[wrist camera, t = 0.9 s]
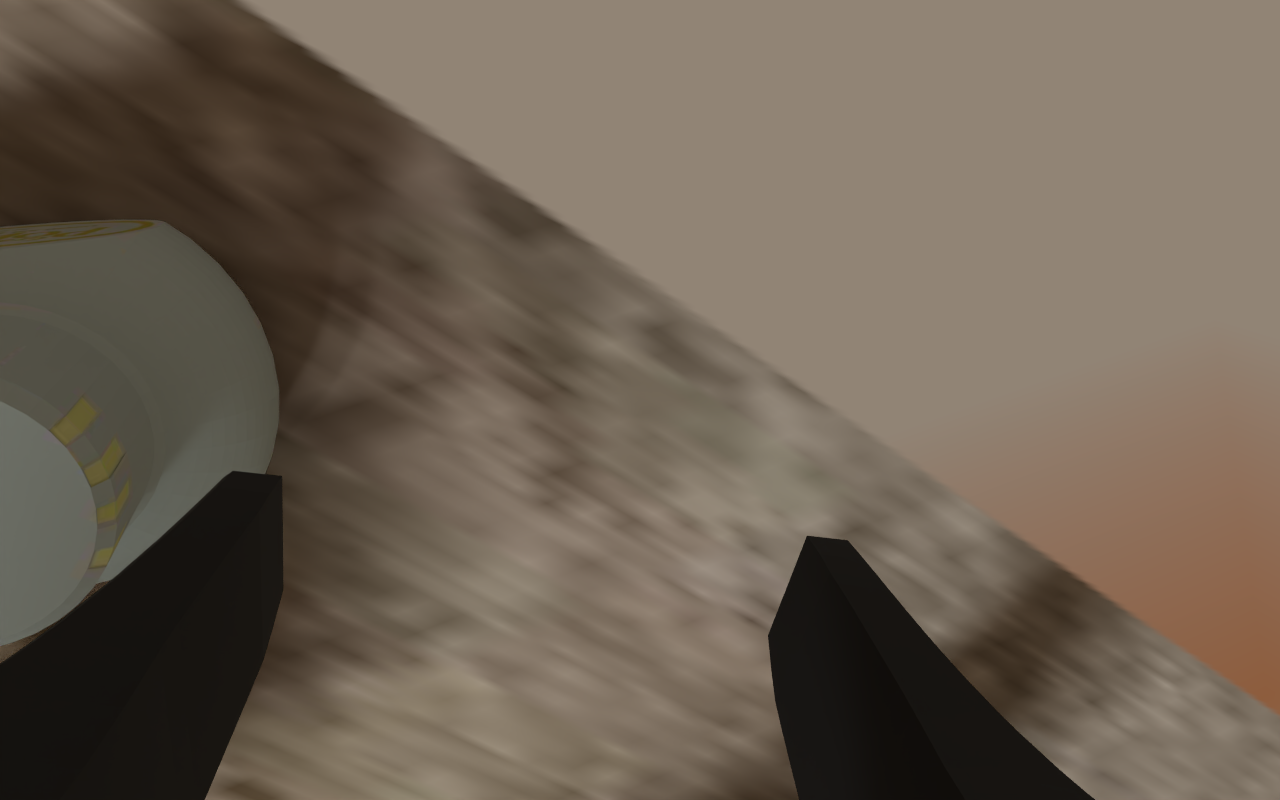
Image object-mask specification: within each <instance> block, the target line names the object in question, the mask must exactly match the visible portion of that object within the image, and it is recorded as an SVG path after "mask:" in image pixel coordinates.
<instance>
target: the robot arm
mask: <svg viewBox="0 0 1280 800" xmlns="http://www.w3.org/2000/svg"><path fill="white" fill-rule="evenodd" d="M282 592H283V519H282V476H276V475H268V474H259V473H250V472H241V471H232V472H230V473H229V474H227V475H226V476H224V477H223V478H222V479H221V480H220V481H219V482H218V483H217V484H216V485H215V486H214V487H213V488H212V489H211V490H210V491H209V492H208V493H207V494H206V495H205V496H204V497H203V498H202V499H201V500H200V501H199V502H198V503H197V504H195V505H194V506H193V507H192V508H191V509H190V510H189V511H188V512H187V513H186V514H185V515H184V516H183V517H182V518H181V519H180V520H179V521H177V522H176V523H175V524H174V525H173V526H172V527H171V528H170V529H169V530H168V531H167V532H166V533H164V534H163V535H162V536H161V537H160V538H159V539H158V540H157V541H156V542H154V543H153V544H152V545H151V546H150V547H149V548H148V549H146V550H145V551H144V552H143V553H142V554H141V555H139V556H138V557H137V558H136V559H135V560H134V561H133V562H131V563H130V564H129V565H128V566H127V567H126V568H125V569H123V570H122V571H121V572H120V573H119V574H118V575H116V576H115V577H114V578H113V579H112V580H110V581H109V582H108V583H107V584H106V585H104V586H103V587H102V588H101V589H99V590H98V591H97V592H96V593H94V594H93V595H92V596H90V597H89V598H88V599H87V600H85V601H84V602H83V603H82V604H80V605H79V606H78V607H77V608H75V609H74V610H73V611H71V612H70V613H69V614H68V615H66V616H65V617H64V618H63V619H61V620H60V621H59V622H57V623H56V624H55V625H54V626H52V627H51V628H50V629H48V630H47V631H46V632H44V633H43V634H41V635H40V636H39V637H37V638H36V639H35V640H33V641H32V642H30V643H29V644H28V645H26V646H25V647H24V648H22V649H21V650H19V651H18V652H16V653H15V654H14V655H12V656H11V657H9V658H8V659H6V660H5V661H3V662H2V663H1V664H0V800H205V798H206V795H207V793H208V791H209V788H210V786H211V783H212V781H213V779H214V776H215V774H216V772H217V769H218V767H219V765H220V762H221V760H222V757H223V755H224V753H225V750H226V748H227V746H228V743H229V741H230V739H231V736H232V734H233V731H234V729H235V727H236V724H237V722H238V720H239V717H240V715H241V713H242V710H243V708H244V705H245V703H246V701H247V698H248V696H249V693H250V691H251V689H252V686H253V684H254V681H255V679H256V677H257V674H258V672H259V669H260V667H261V664H262V662H263V659H264V656H265V652H266V649H267V646H268V642H269V639H270V635H271V632H272V629H273V625H274V621H275V618H276V614H277V610H278V607H279V603H280V600H281V596H282ZM768 639H769V650H770V660H771V670H772V678H773V686H774V694H775V702H776V706H777V711H778V715H779V719H780V724H781V728H782V732H783V736H784V740H785V744H786V748H787V752H788V757H789V761H790V765H791V769H792V773H793V776H794V780H795V784H796V788H797V792H798V796H799V800H1095V799H1094V798H1092V797H1091V796H1090V795H1089V794H1087V793H1086V792H1085V791H1084V790H1083V789H1081V788H1080V787H1079V786H1078V785H1077V784H1076V783H1074V782H1073V781H1072V780H1071V779H1070V778H1068V777H1067V776H1066V775H1065V774H1064V773H1063V772H1062V771H1060V770H1059V769H1058V768H1057V767H1056V766H1055V765H1054V764H1053V763H1052V762H1050V761H1049V760H1048V759H1047V758H1046V757H1045V756H1044V755H1043V754H1042V753H1041V752H1040V751H1038V750H1037V749H1036V748H1035V747H1034V746H1033V745H1032V744H1031V743H1030V742H1029V741H1028V740H1026V739H1025V738H1024V737H1023V736H1022V735H1021V734H1020V733H1019V732H1018V731H1017V730H1016V729H1015V728H1014V727H1013V726H1012V725H1011V724H1010V723H1009V722H1008V721H1006V720H1005V719H1004V718H1003V717H1002V716H1001V715H1000V714H999V713H998V712H997V711H996V710H995V708H994V707H993V706H992V705H991V704H990V703H989V702H988V701H987V700H986V699H985V698H984V697H983V696H982V695H981V694H980V693H979V692H978V691H977V690H976V689H975V688H974V687H973V686H972V684H971V683H970V682H969V681H968V680H967V679H966V678H965V677H964V676H963V675H962V674H961V673H960V672H959V671H958V669H957V668H956V667H955V666H954V665H953V664H952V663H951V662H950V661H949V660H948V658H947V657H946V656H945V655H944V654H943V653H942V652H941V651H940V649H939V648H938V647H937V646H936V645H935V644H934V643H933V641H932V640H931V639H930V638H929V637H928V636H927V634H926V633H925V632H924V631H923V630H922V629H921V627H920V626H919V625H918V624H917V623H916V622H915V620H914V619H913V618H912V617H911V616H910V614H909V613H908V612H907V611H906V610H905V608H904V607H903V606H902V605H901V604H900V602H899V601H898V600H897V599H896V598H895V596H894V595H893V594H892V593H891V592H890V590H889V589H888V588H887V587H886V585H885V584H884V583H883V582H882V581H881V579H880V578H879V577H878V576H877V574H876V573H875V572H874V571H873V570H872V568H871V567H870V566H869V565H868V564H867V562H866V561H865V560H864V559H863V558H862V556H861V555H860V554H859V553H858V552H857V551H856V549H855V548H854V547H853V546H852V545H851V544H850V543H849V541H848V540H840V539H831V538H822V537H813V536H807V537H806V540H805V543H804V545H803V548H802V550H801V553H800V555H799V558H798V560H797V563H796V565H795V568H794V571H793V573H792V576H791V578H790V581H789V583H788V586H787V588H786V591H785V594H784V596H783V599H782V601H781V604H780V606H779V609H778V611H777V614H776V617H775V619H774V622H773V624H772V627H771V629H770V632H769V634H768Z"/></svg>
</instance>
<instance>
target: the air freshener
mask: <svg viewBox="0 0 1280 800" xmlns="http://www.w3.org/2000/svg"><path fill="white" fill-rule="evenodd" d="M278 424H279V385H278V380H277V374H276V369H275V363H274V358H273V354H272V351H271V349H270V346H269V343H268V341H267V338H266V335H265V333H264V330H263V327H262V325H261V323H260V321H259V319H258V317H257V316H256V314H255V312H254V311H253V309H252V307H251V305H250V304H249V302H248V300H247V299H246V297H245V295H244V293H243V292H242V291H241V290H240V288H239V287H238V286H237V285H236V284H235V282H234V281H233V280H232V279H231V278H230V276H229V275H228V274H227V273H226V272H225V270H224V269H223V268H222V267H221V265H220V264H219V263H218V262H216V261H215V260H214V259H213V258H212V257H211V256H210V255H209V254H207V253H206V252H205V251H204V250H203V249H202V248H201V247H200V246H198V245H197V244H196V243H195V242H194V241H193V240H192V239H190V238H189V237H187V236H186V235H184V234H183V233H181V232H180V231H178V230H177V229H175V228H174V227H172V226H171V225H169V224H168V223H166V222H164V221H160V220H130V219H128V220H94V221H74V222H57V223H42V224H28V225H16V226H3V227H0V646H2V645H6V644H10V643H13V642H15V641H18V640H20V639H23V638H25V637H28V636H30V635H33V634H35V633H37V632H39V631H41V630H42V629H44V628H46V627H48V626H49V625H51V624H53V623H55V622H56V621H58V620H60V619H61V618H62V617H63V616H65V615H66V614H67V613H68V612H70V611H71V610H72V609H73V608H75V607H76V606H77V605H78V604H79V603H80V602H81V601H82V600H83V599H84V598H85V596H86V595H87V594H88V593H89V592H90V591H91V590H92V589H93V587H94V586H95V584H97V583H101V582H105V581H109V580H112V579H113V578H114V577H115V576H116V575H118V574H119V573H120V572H121V571H122V570H123V569H125V568H126V567H127V566H128V565H129V564H130V563H131V562H133V561H134V560H135V559H136V558H137V557H138V556H139V555H141V554H142V553H143V552H144V551H145V550H146V549H148V548H149V547H150V546H151V545H152V544H153V543H154V542H156V541H157V540H158V539H159V538H160V537H161V536H162V535H163V534H164V533H166V532H167V531H168V530H169V529H170V528H171V527H172V526H173V525H174V524H175V523H176V522H177V521H179V520H180V519H181V518H182V517H183V516H184V515H185V514H186V513H187V512H188V511H189V510H190V509H191V508H192V507H193V506H194V505H195V504H197V503H198V502H199V501H200V500H201V499H202V498H203V497H204V496H205V495H206V494H207V493H208V492H209V491H210V490H211V489H212V488H213V487H214V486H215V485H216V484H217V483H218V482H219V481H220V480H221V479H222V478H223V477H224V476H226V475H227V474H229V473H230V472H232V471H241V472H250V473H259V474H265V473H266V470H267V468H268V465H269V463H270V460H271V458H272V455H273V450H274V445H275V440H276V434H277V429H278Z"/></svg>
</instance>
